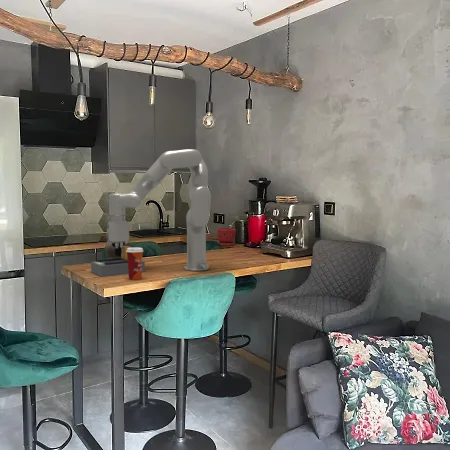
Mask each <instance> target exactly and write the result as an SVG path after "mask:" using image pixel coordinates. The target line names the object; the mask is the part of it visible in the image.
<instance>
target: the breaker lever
mask: <svg viewBox="0 0 450 450" xmlns="http://www.w3.org/2000/svg"><path fill="white" fill-rule="evenodd" d="M127 248H131V247H129V246H123V247H122V254H121V258H122V259H124V260H128V259H127V252H126V251H127Z"/></svg>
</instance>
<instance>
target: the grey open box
mask: <svg viewBox="0 0 450 450" xmlns="http://www.w3.org/2000/svg"><path fill="white" fill-rule="evenodd" d="M90 272H91V273H92V274H95V275H97V276H100V277H101V278H102V277H103V278H104V277H110V276H119V275H127V274H128V275H129V273H128V260H124V259H122V258H121V257H116V258H108V257H106V258H97V259H96V261H91V262H90ZM145 272H146V263H145V261H144V260H142V273H145Z"/></svg>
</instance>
